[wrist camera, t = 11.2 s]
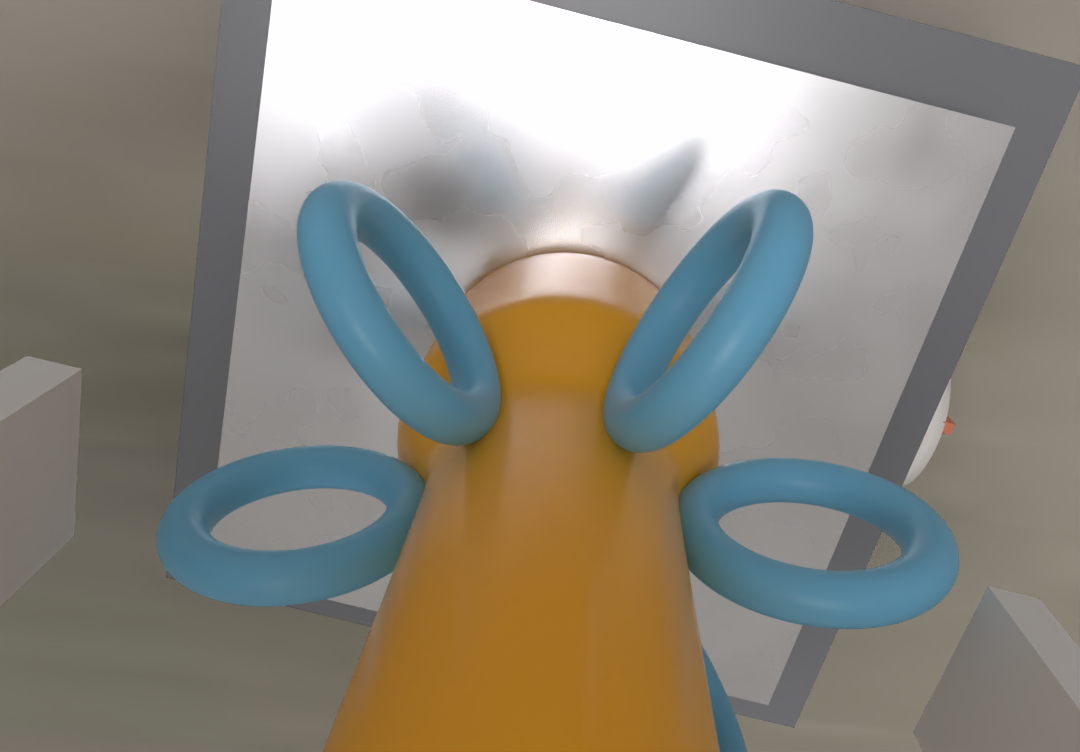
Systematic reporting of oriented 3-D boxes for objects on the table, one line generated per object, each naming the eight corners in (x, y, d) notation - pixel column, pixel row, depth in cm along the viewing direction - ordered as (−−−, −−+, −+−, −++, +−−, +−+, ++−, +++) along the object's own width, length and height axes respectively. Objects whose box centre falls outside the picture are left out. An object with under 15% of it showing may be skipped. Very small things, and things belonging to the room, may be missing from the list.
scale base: (236, 491, 28) (165, 577, 24) (313, -113, 22) (237, -157, 17) (786, 624, 29) (823, 734, 24) (1018, 72, 23) (1128, 77, 18)
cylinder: (869, 141, 17) (1969, 493, 3) (812, 580, 21) (1235, 1620, 7) (278, 137, 18) (-797, 417, 4) (321, 563, 22) (-176, 1475, 8)
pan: (274, 479, 27) (205, 570, 22) (348, -39, 21) (279, -65, 17) (738, 593, 27) (768, 705, 23) (926, 110, 22) (1015, 127, 17)
